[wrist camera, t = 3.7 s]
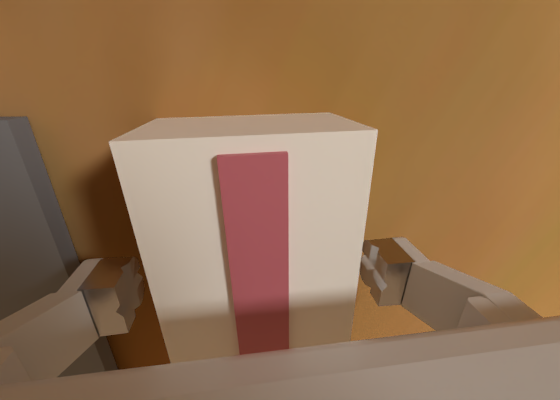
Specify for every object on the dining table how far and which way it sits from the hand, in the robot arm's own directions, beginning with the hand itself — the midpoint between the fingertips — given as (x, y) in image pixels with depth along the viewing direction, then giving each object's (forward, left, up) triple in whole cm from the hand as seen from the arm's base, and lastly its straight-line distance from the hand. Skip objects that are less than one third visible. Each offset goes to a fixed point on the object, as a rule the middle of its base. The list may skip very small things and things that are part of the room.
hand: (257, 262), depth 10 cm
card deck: (0, 0, -2) cm, 2 cm away
